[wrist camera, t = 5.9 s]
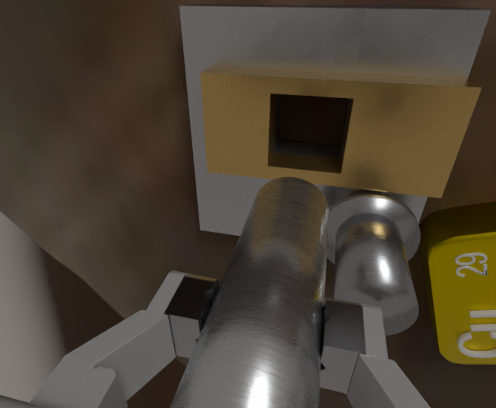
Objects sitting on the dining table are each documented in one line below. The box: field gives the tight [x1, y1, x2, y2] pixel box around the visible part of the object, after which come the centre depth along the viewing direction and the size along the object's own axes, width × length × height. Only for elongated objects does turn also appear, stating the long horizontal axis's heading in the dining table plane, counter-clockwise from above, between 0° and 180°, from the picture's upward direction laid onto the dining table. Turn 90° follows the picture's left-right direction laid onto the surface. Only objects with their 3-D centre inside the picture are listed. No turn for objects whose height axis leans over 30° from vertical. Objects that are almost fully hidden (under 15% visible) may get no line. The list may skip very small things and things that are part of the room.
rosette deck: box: [179, 4, 491, 336], centre depth 22 cm, size 18×18×12 cm
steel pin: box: [170, 177, 329, 408], centre depth 10 cm, size 4×4×12 cm
